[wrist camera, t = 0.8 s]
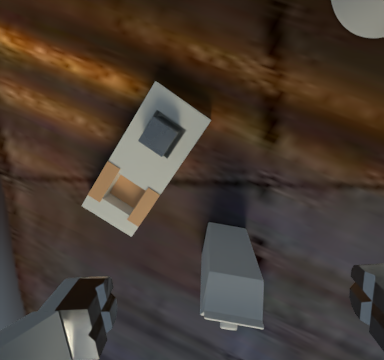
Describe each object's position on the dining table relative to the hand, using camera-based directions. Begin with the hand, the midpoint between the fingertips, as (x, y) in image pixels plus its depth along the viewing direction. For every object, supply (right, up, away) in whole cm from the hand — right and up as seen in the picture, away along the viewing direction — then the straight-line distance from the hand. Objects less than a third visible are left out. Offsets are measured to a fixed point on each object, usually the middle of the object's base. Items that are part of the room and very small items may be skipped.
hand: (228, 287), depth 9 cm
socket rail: (-9, +7, +36) cm, 37 cm away
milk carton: (+5, -8, +39) cm, 40 cm away
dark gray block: (-6, +11, +33) cm, 35 cm away
